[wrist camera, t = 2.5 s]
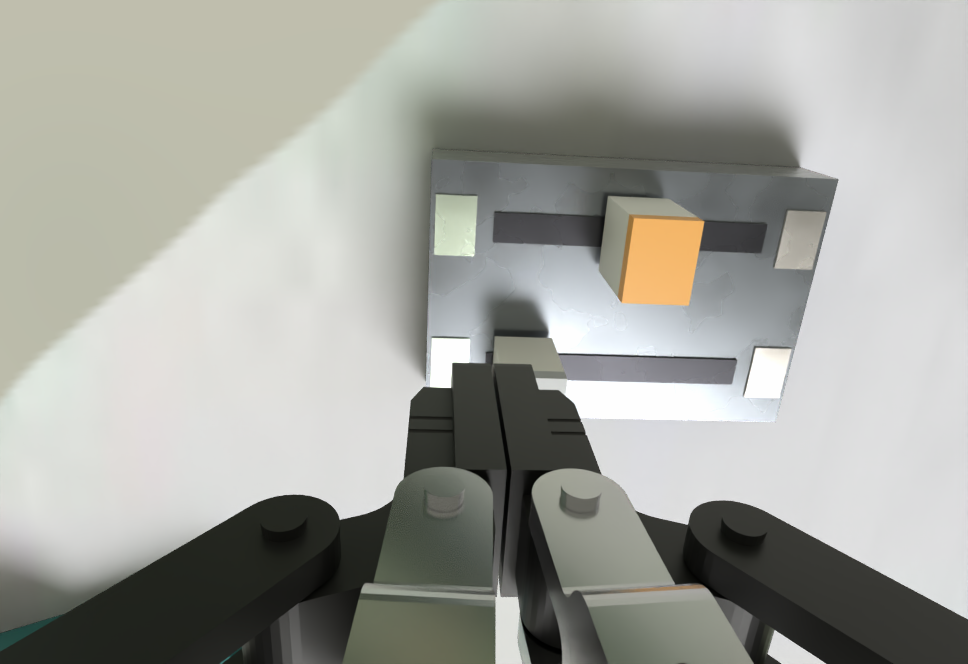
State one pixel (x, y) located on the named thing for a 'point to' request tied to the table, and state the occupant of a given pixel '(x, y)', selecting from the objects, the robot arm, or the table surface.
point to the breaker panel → (592, 303)
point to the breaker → (533, 359)
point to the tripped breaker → (650, 250)
